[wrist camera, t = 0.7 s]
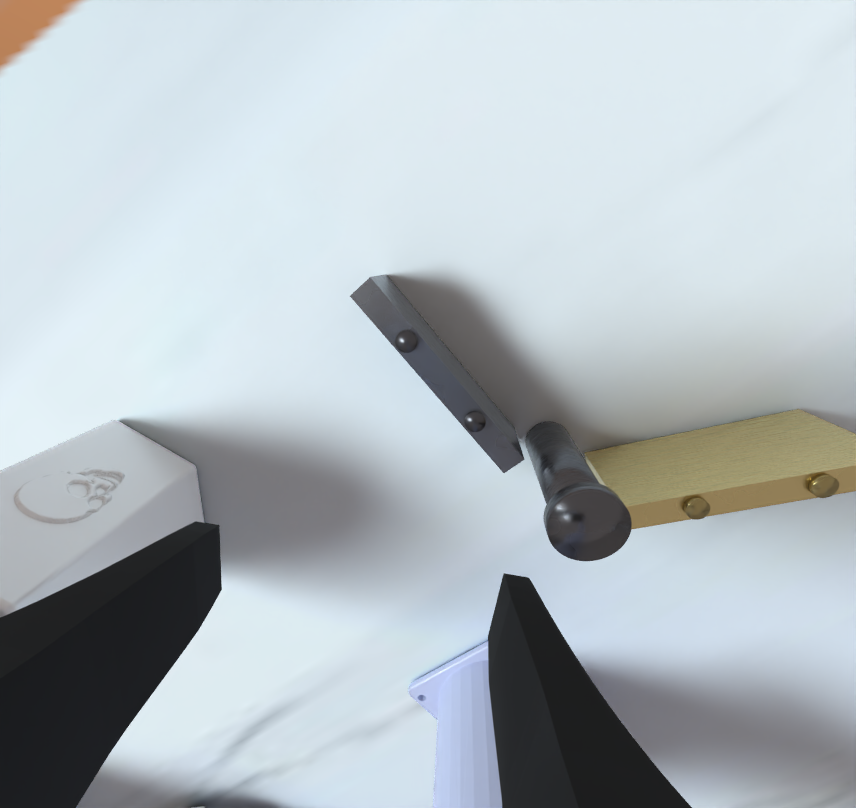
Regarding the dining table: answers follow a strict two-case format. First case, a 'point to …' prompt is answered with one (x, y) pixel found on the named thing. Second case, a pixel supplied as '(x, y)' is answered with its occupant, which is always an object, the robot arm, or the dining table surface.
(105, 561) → the jar
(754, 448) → the brass leaf
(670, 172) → the dining table surface
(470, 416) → the hinge base
